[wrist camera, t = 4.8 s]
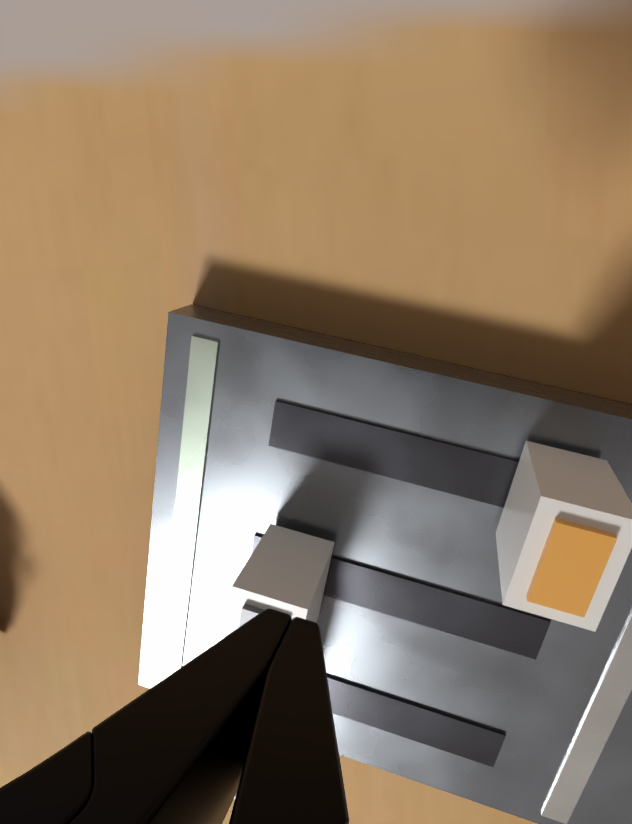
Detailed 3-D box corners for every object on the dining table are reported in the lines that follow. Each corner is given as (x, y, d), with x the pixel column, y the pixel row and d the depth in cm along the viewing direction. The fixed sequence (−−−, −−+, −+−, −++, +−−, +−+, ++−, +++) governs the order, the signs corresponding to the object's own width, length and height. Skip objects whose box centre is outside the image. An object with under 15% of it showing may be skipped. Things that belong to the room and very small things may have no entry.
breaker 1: (334, 542, 17) (306, 614, 14) (318, 617, 18) (288, 700, 15) (270, 523, 18) (228, 590, 14) (258, 598, 19) (216, 676, 15)
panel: (837, 451, 15) (879, 477, 14) (638, 818, 20) (652, 866, 18) (191, 304, 18) (167, 312, 16) (157, 656, 23) (136, 686, 21)
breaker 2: (606, 460, 15) (645, 526, 12) (570, 553, 16) (597, 637, 13) (525, 440, 15) (542, 500, 12) (495, 532, 16) (503, 610, 13)
